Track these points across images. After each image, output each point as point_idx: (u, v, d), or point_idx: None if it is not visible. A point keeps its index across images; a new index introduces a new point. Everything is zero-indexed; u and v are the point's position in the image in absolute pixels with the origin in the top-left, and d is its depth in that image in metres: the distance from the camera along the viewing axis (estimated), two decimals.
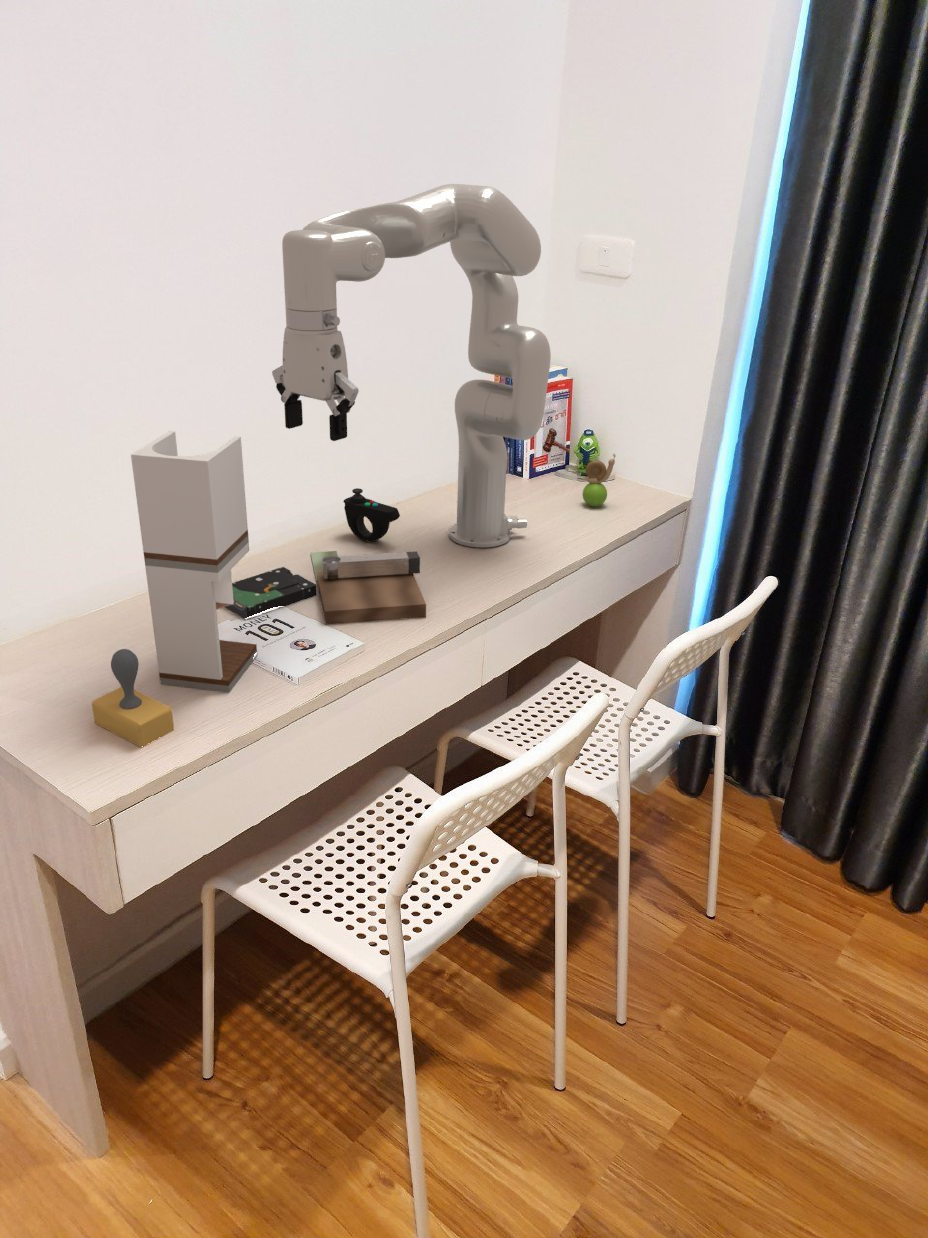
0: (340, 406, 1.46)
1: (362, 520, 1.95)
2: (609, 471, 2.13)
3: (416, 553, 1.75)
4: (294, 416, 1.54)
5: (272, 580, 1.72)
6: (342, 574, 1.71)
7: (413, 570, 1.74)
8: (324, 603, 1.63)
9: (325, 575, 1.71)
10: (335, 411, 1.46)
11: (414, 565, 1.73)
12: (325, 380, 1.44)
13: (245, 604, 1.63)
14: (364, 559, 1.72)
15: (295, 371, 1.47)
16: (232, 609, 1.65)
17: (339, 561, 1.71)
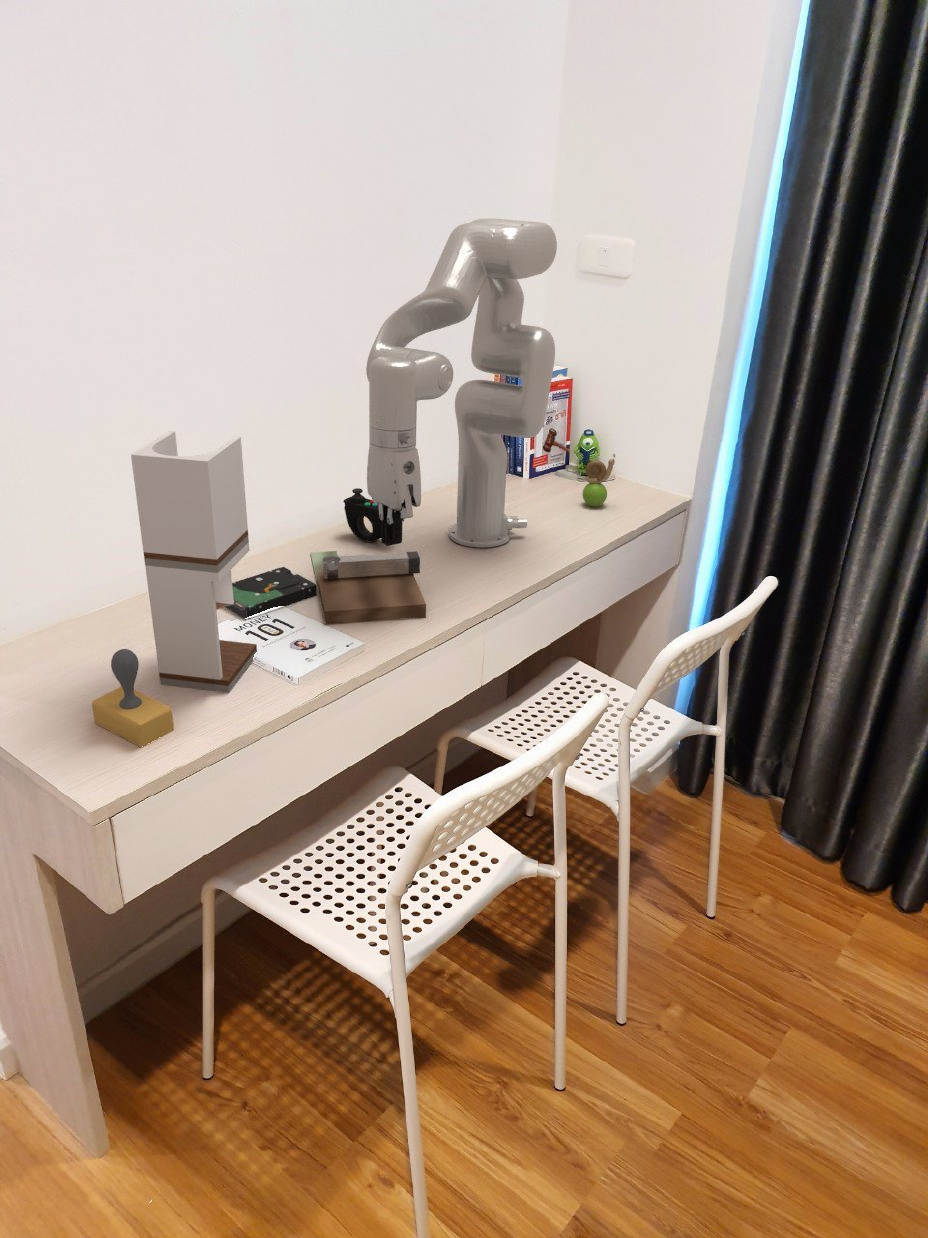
0: (394, 516, 1.60)
1: (362, 520, 1.95)
2: (609, 471, 2.13)
3: (416, 553, 1.75)
4: None
5: (272, 580, 1.72)
6: (342, 574, 1.71)
7: (413, 570, 1.74)
8: (324, 603, 1.63)
9: (325, 575, 1.71)
10: (389, 520, 1.61)
11: (414, 565, 1.73)
12: (396, 493, 1.56)
13: (245, 604, 1.63)
14: (364, 559, 1.72)
15: (375, 480, 1.59)
16: (232, 609, 1.65)
17: (339, 561, 1.71)
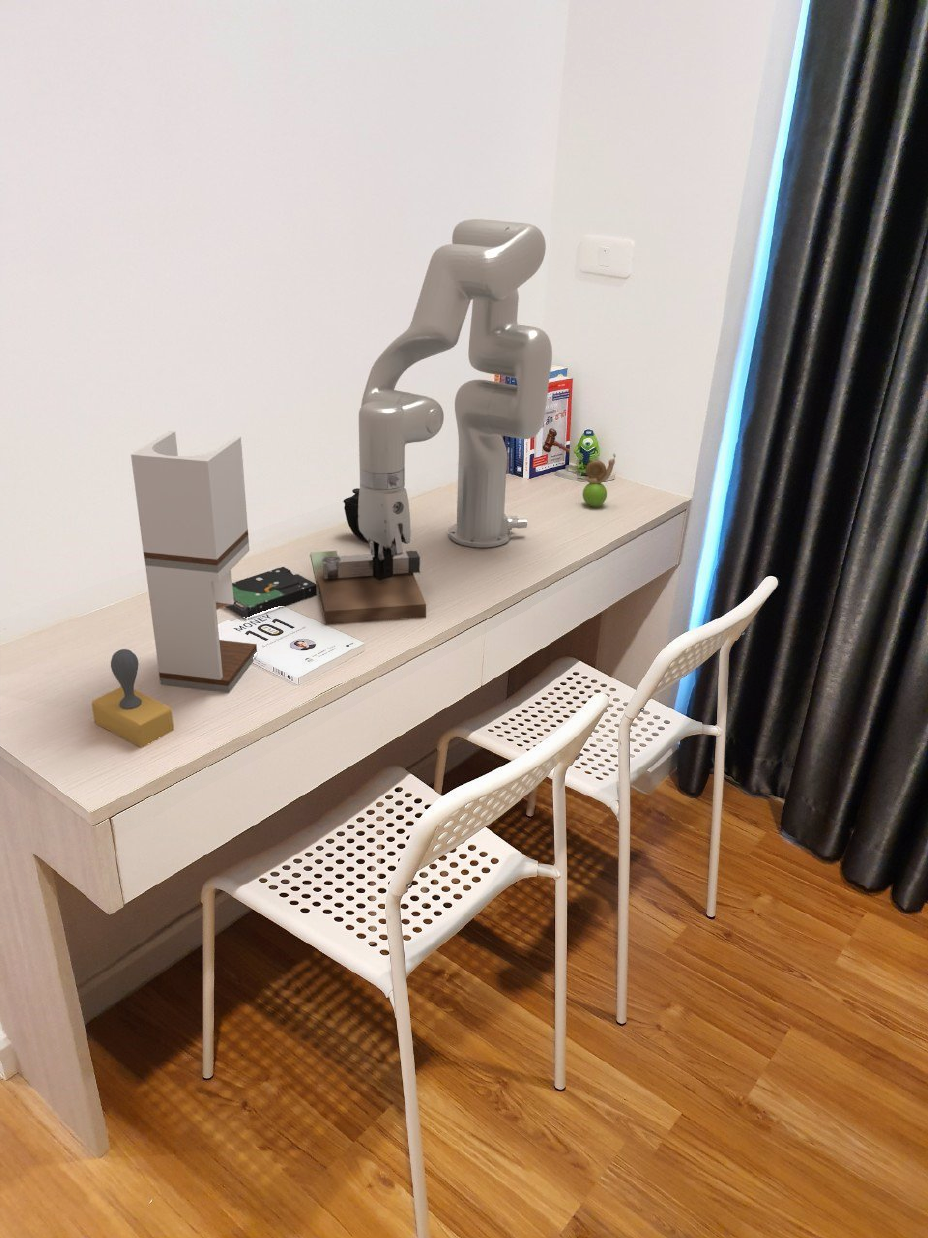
0: (384, 553, 1.67)
1: None
2: (609, 471, 2.13)
3: (416, 552, 1.75)
4: None
5: (272, 580, 1.72)
6: (342, 574, 1.71)
7: (413, 570, 1.74)
8: (324, 603, 1.63)
9: (325, 575, 1.71)
10: (380, 556, 1.68)
11: (414, 564, 1.74)
12: (387, 532, 1.62)
13: (245, 604, 1.63)
14: (364, 559, 1.72)
15: (366, 519, 1.66)
16: (233, 609, 1.65)
17: (339, 561, 1.71)
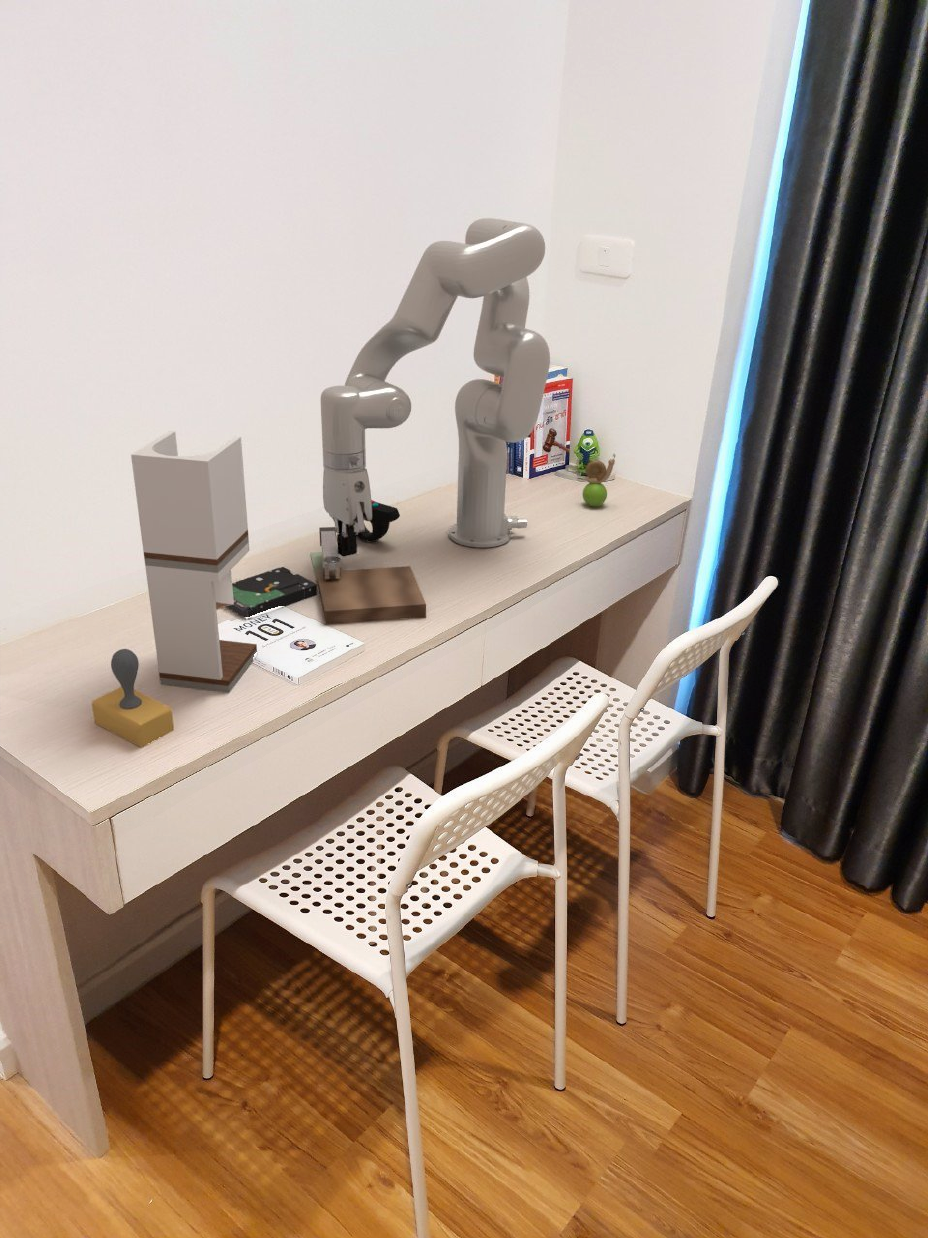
0: (348, 530, 1.76)
1: None
2: (609, 471, 2.13)
3: (324, 527, 1.84)
4: None
5: (272, 580, 1.72)
6: None
7: None
8: (324, 603, 1.63)
9: (339, 574, 1.71)
10: (344, 533, 1.77)
11: None
12: (349, 509, 1.71)
13: (246, 604, 1.63)
14: (334, 547, 1.76)
15: (330, 498, 1.75)
16: (233, 609, 1.65)
17: (336, 556, 1.72)
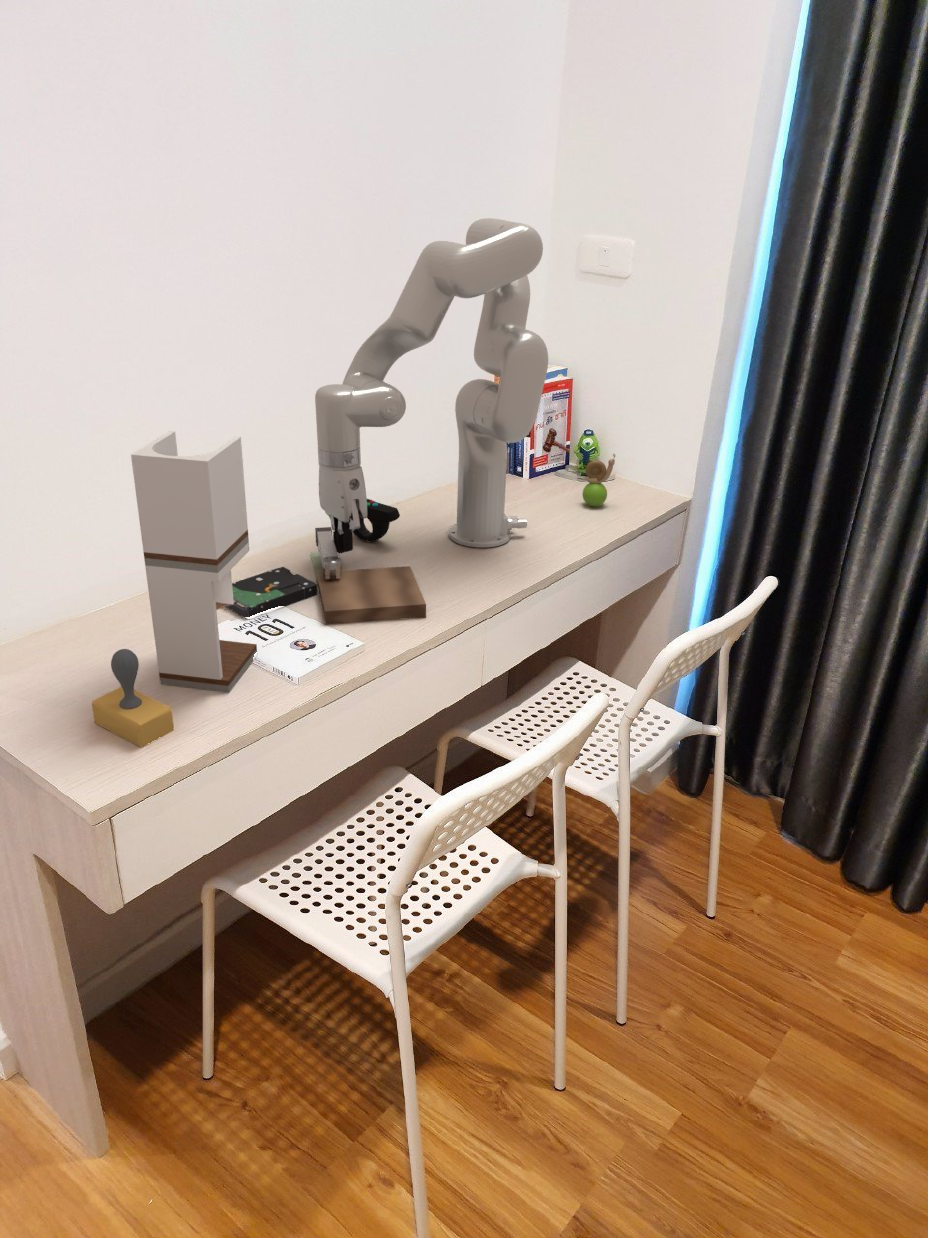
0: (343, 527, 1.78)
1: (362, 520, 1.95)
2: (609, 471, 2.13)
3: (320, 528, 1.84)
4: None
5: (272, 580, 1.72)
6: None
7: None
8: (324, 603, 1.63)
9: (340, 574, 1.71)
10: (340, 531, 1.78)
11: None
12: (344, 507, 1.73)
13: (246, 604, 1.63)
14: (332, 547, 1.76)
15: (325, 495, 1.77)
16: (234, 609, 1.65)
17: (336, 556, 1.72)
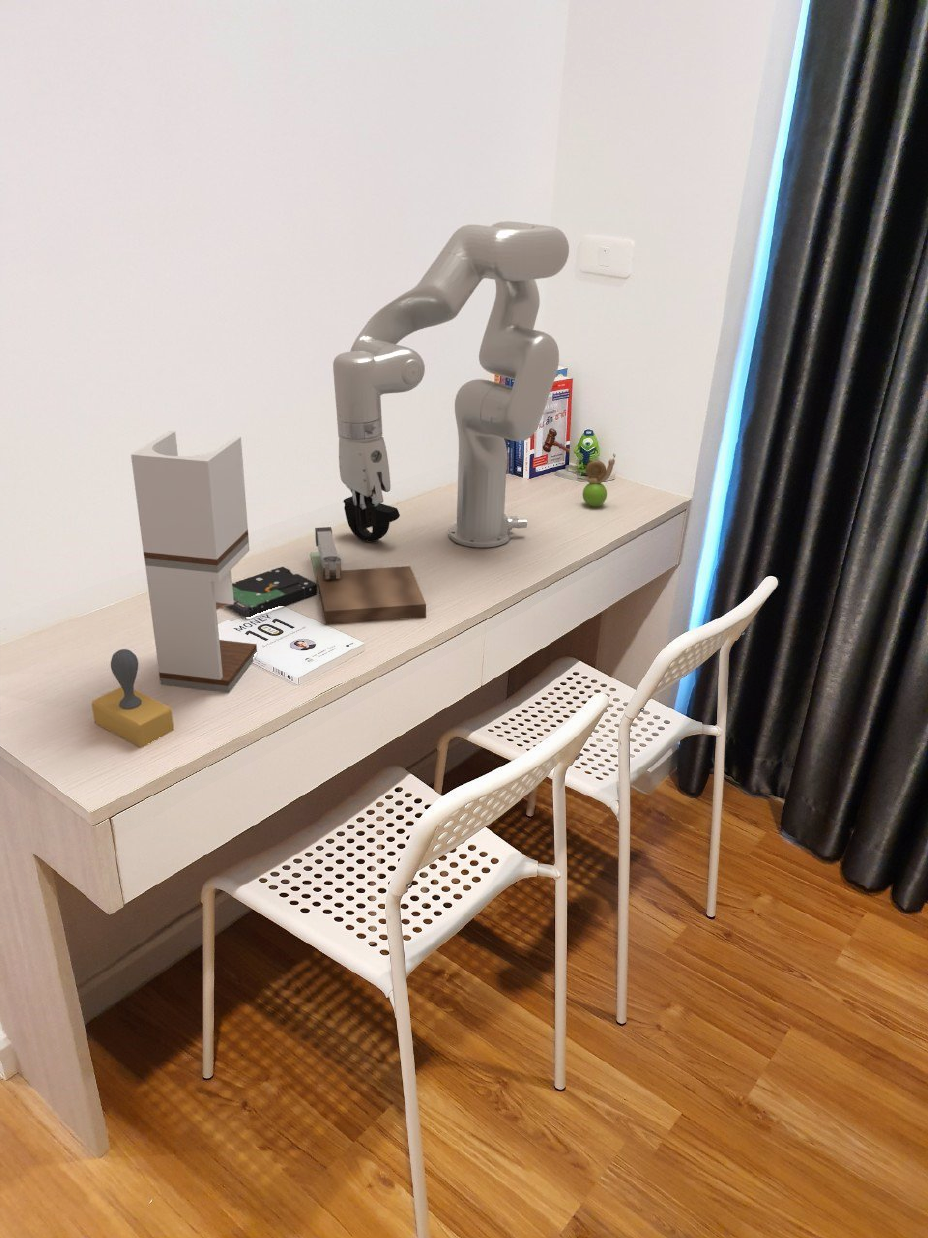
0: (366, 502, 1.70)
1: None
2: (609, 471, 2.13)
3: (320, 528, 1.84)
4: None
5: (272, 580, 1.72)
6: None
7: None
8: (324, 603, 1.63)
9: (340, 574, 1.71)
10: (362, 505, 1.71)
11: None
12: (366, 480, 1.65)
13: (247, 604, 1.63)
14: (332, 547, 1.76)
15: (346, 469, 1.69)
16: (234, 609, 1.65)
17: (336, 556, 1.72)
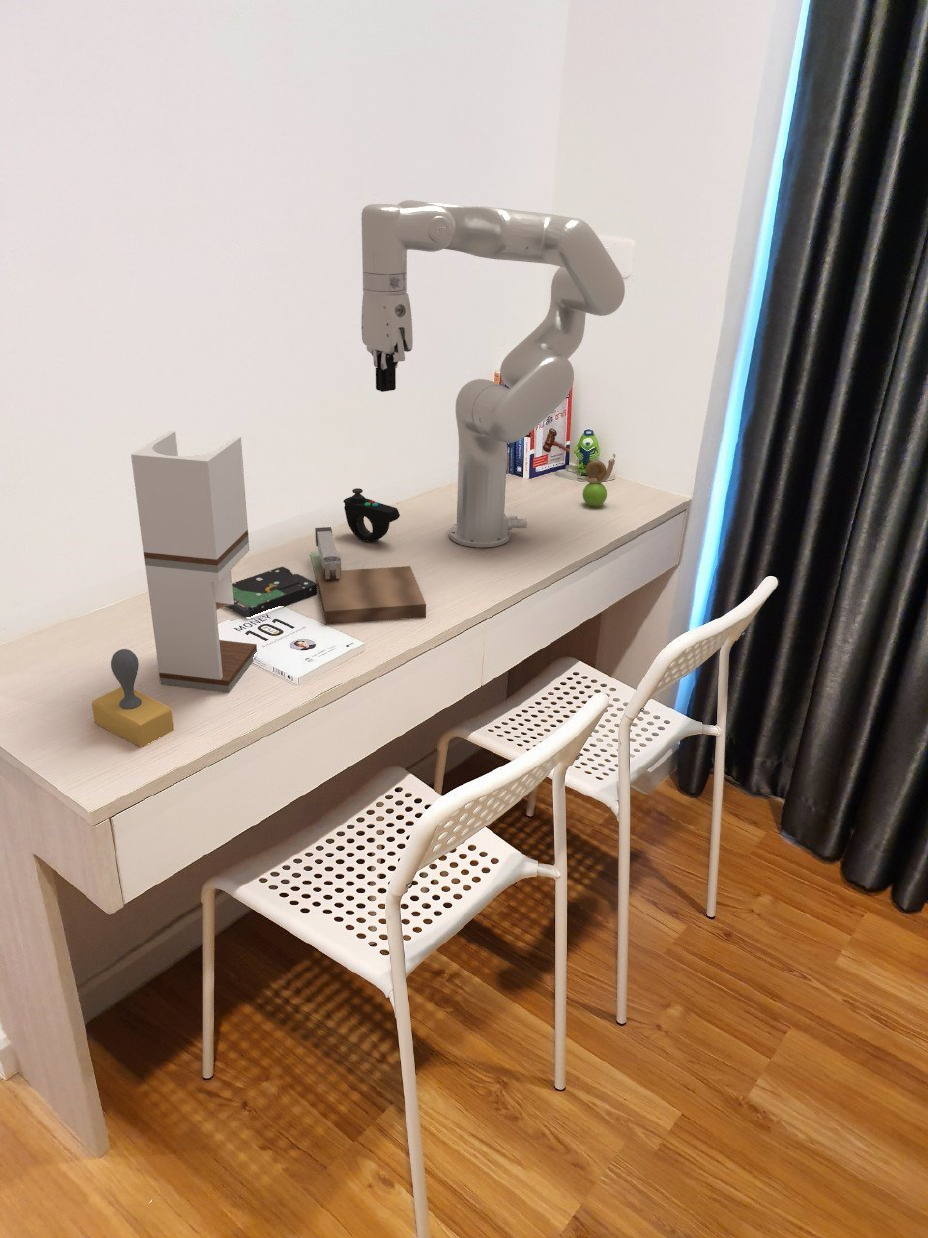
0: (387, 361, 1.71)
1: (362, 520, 1.95)
2: (609, 471, 2.13)
3: (320, 528, 1.84)
4: None
5: (272, 580, 1.72)
6: None
7: None
8: (324, 603, 1.63)
9: (340, 574, 1.71)
10: (383, 365, 1.71)
11: None
12: (389, 335, 1.66)
13: (247, 604, 1.63)
14: (332, 547, 1.76)
15: (369, 327, 1.69)
16: (234, 609, 1.65)
17: (336, 556, 1.72)
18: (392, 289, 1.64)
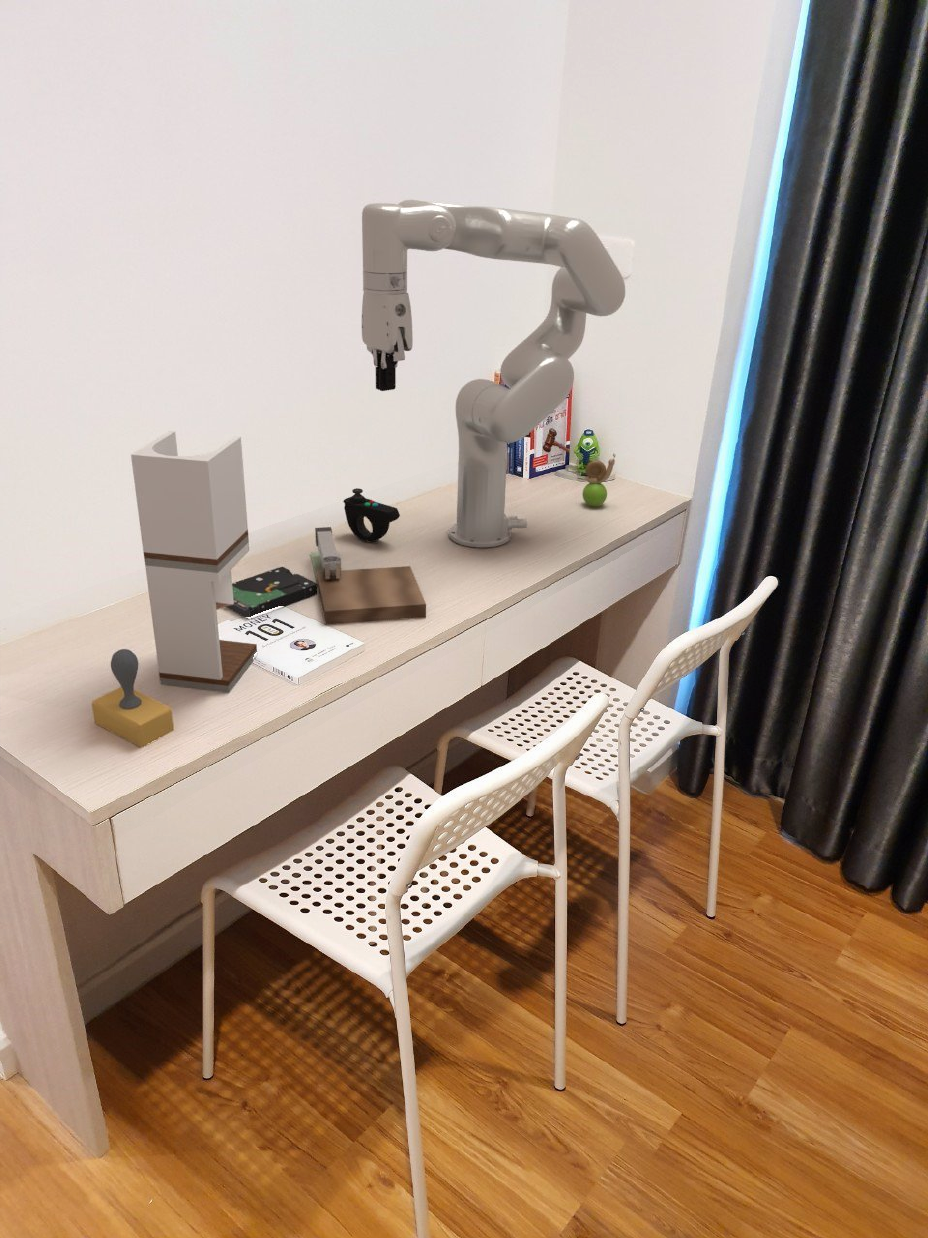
0: (387, 361, 1.71)
1: (362, 520, 1.95)
2: (609, 471, 2.13)
3: (320, 528, 1.84)
4: None
5: (272, 580, 1.72)
6: None
7: None
8: (324, 603, 1.63)
9: (340, 574, 1.71)
10: (383, 365, 1.71)
11: None
12: (389, 334, 1.66)
13: (247, 604, 1.63)
14: (332, 547, 1.76)
15: (369, 326, 1.70)
16: (234, 609, 1.65)
17: (336, 556, 1.72)
18: (392, 288, 1.64)
